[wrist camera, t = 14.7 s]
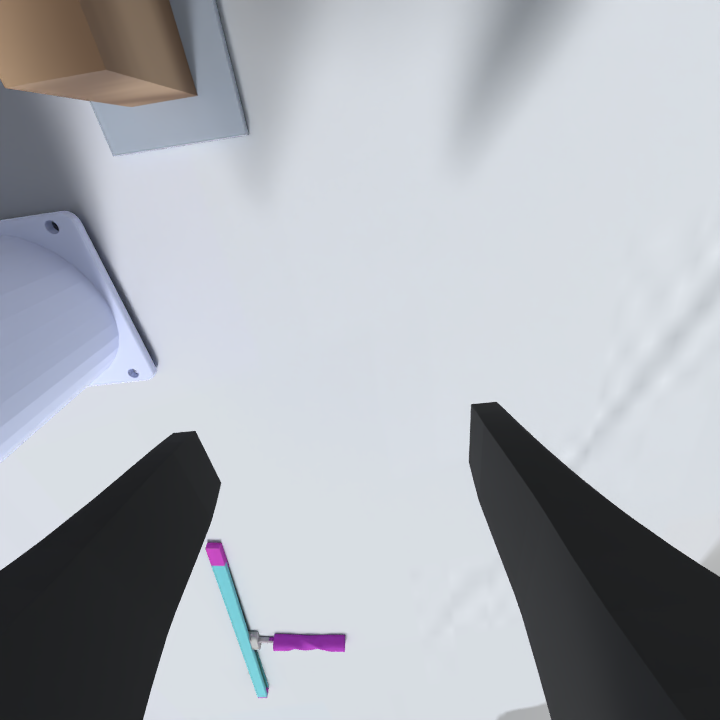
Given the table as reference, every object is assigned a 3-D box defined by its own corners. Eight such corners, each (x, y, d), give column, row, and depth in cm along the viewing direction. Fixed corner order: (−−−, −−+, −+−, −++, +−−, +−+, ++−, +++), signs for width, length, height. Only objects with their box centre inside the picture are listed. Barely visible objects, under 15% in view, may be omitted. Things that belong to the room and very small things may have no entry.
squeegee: (345, 702, 40) (257, 701, 40) (346, 682, 42) (261, 681, 42) (342, 553, 26) (203, 552, 26) (343, 532, 27) (212, 530, 27)
